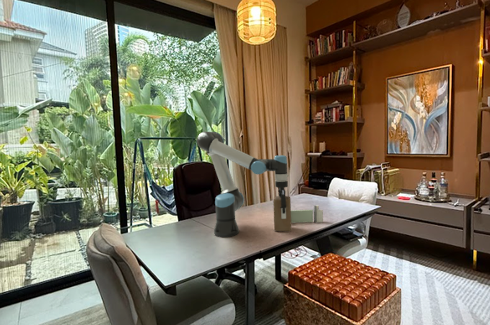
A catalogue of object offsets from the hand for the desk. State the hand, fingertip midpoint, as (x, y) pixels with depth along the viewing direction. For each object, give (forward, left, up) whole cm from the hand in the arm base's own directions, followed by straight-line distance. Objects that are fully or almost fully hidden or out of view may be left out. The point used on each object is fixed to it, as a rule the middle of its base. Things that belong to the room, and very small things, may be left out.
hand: (282, 215), depth 164 cm
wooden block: (0, 0, -9) cm, 9 cm away
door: (+12, +11, -8) cm, 18 cm away
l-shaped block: (+13, +12, -8) cm, 19 cm away
